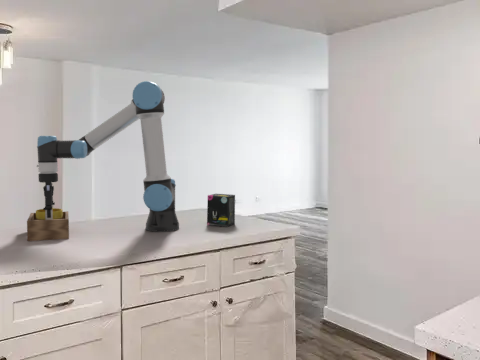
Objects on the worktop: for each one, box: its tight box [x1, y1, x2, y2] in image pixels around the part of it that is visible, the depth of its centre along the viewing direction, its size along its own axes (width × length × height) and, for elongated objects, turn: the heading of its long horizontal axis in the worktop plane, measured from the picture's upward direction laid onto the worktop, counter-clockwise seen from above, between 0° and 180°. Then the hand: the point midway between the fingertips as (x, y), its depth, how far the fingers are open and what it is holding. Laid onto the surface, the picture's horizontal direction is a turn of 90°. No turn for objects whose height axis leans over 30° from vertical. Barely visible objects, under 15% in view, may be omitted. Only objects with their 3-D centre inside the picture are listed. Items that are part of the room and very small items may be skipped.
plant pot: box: [35, 207, 64, 220], centre depth 194 cm, size 10×10×10 cm
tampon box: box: [206, 193, 236, 228], centre depth 222 cm, size 11×9×15 cm
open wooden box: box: [26, 210, 70, 242], centre depth 194 cm, size 15×22×8 cm
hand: (49, 222), depth 194 cm, fingers open, 13 cm apart
